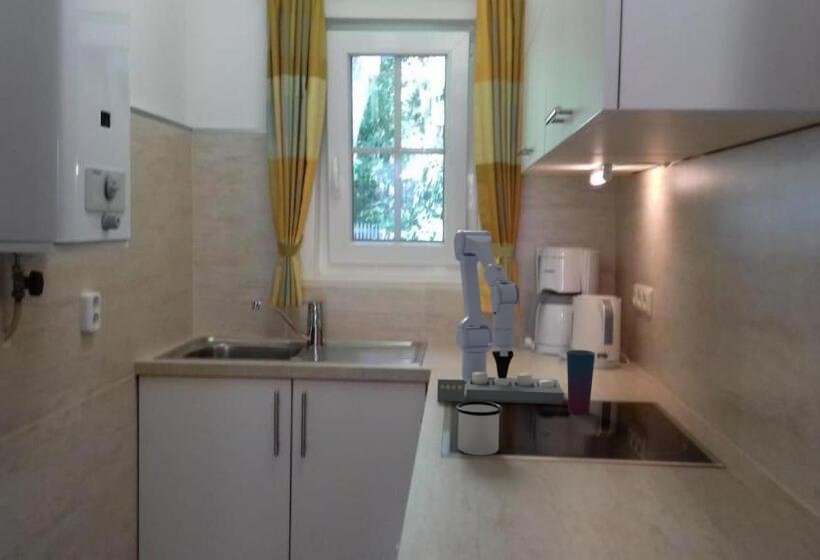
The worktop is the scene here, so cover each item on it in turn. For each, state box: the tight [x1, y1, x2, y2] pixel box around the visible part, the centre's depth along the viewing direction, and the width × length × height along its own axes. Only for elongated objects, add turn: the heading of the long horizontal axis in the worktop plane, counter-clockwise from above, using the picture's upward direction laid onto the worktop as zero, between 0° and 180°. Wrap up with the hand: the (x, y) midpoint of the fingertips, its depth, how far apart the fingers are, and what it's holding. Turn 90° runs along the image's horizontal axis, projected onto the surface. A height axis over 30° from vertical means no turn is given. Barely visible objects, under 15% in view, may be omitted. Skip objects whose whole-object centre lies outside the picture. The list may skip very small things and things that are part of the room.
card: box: [436, 378, 466, 402], centre depth 196 cm, size 1×7×6 cm, turn 86°
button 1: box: [472, 372, 488, 385], centre depth 204 cm, size 4×4×3 cm
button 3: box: [516, 372, 533, 387], centre depth 203 cm, size 4×4×3 cm
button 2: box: [494, 375, 511, 386], centre depth 204 cm, size 4×4×3 cm
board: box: [465, 376, 564, 405], centre depth 203 cm, size 16×25×3 cm, turn 85°
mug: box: [455, 401, 503, 457], centre depth 156 cm, size 12×10×9 cm
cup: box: [566, 349, 596, 415], centre depth 186 cm, size 7×7×15 cm
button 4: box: [539, 378, 554, 387], centre depth 203 cm, size 4×4×3 cm
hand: (502, 378), depth 204 cm, fingers closed, pressing on button 2
